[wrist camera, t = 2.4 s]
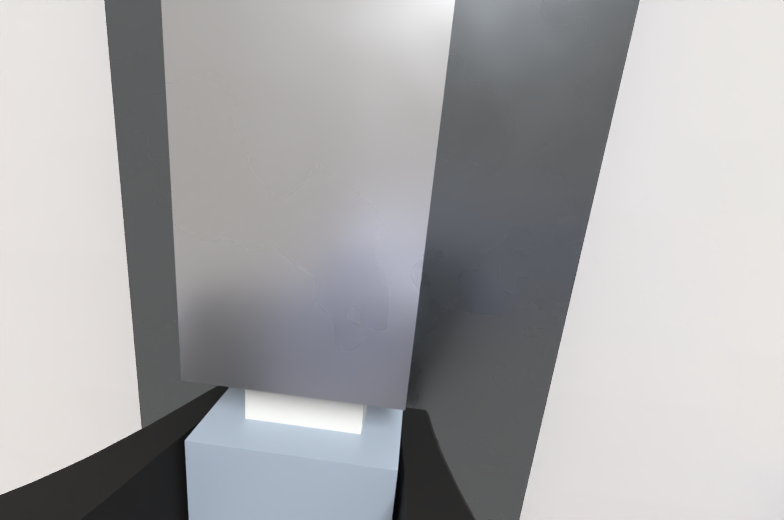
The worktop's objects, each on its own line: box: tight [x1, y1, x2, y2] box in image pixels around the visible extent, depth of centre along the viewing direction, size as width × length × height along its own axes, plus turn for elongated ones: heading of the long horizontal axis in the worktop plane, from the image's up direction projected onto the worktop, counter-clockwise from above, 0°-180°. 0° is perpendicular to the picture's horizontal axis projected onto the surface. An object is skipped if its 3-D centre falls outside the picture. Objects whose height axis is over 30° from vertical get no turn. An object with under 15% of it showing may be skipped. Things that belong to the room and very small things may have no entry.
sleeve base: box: [104, 0, 639, 520], centre depth 10 cm, size 12×28×5 cm, turn 175°
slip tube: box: [185, 387, 403, 520], centre depth 9 cm, size 4×16×4 cm, turn 175°
